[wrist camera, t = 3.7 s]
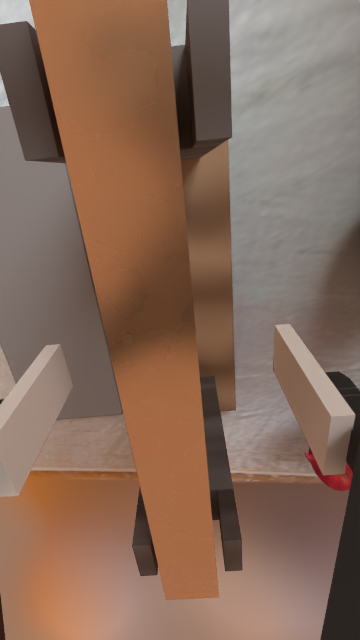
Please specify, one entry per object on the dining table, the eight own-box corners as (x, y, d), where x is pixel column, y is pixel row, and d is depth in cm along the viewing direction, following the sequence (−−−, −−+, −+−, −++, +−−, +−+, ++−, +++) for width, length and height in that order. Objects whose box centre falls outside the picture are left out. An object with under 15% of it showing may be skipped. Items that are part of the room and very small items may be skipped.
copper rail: (77, 38, 10) (21, -34, 7) (168, 26, 10) (162, -54, 6) (168, 527, 21) (165, 599, 18) (212, 524, 21) (218, 597, 18)
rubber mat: (-81, 119, 23) (-90, 118, 22) (54, 103, 22) (50, 101, 22) (34, 416, 35) (31, 421, 34) (123, 409, 34) (122, 414, 33)
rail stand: (82, 100, 22) (-120, -47, 7) (223, 82, 22) (317, -111, 7) (141, 407, 34) (112, 591, 19) (233, 400, 34) (276, 582, 19)
